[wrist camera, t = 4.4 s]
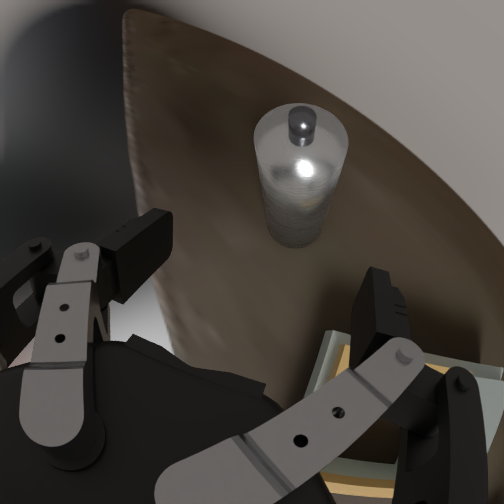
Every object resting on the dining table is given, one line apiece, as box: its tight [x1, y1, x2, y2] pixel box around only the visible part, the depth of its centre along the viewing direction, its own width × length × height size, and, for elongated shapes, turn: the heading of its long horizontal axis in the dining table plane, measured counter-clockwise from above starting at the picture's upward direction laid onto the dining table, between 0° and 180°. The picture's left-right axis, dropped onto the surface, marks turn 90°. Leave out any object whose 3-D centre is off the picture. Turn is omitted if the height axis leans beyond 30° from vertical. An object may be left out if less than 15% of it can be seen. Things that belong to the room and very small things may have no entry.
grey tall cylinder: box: [254, 103, 348, 248], centre depth 18 cm, size 4×4×12 cm
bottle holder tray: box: [303, 330, 504, 498], centre depth 16 cm, size 15×11×5 cm
